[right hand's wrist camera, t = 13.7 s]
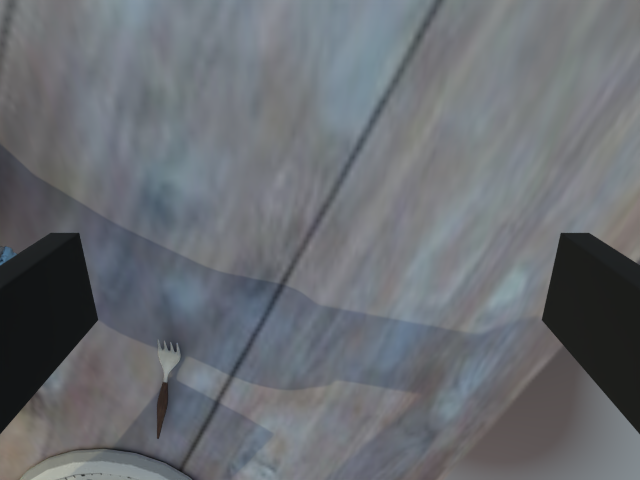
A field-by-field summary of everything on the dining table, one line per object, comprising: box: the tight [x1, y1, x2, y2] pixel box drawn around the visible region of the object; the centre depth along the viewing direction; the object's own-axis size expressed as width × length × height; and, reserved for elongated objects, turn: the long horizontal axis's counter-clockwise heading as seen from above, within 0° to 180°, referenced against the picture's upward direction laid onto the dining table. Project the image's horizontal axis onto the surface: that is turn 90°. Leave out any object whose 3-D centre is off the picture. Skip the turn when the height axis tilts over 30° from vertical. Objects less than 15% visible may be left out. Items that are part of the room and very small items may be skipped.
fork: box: [157, 339, 181, 439], centre depth 52 cm, size 3×16×2 cm, turn 167°
